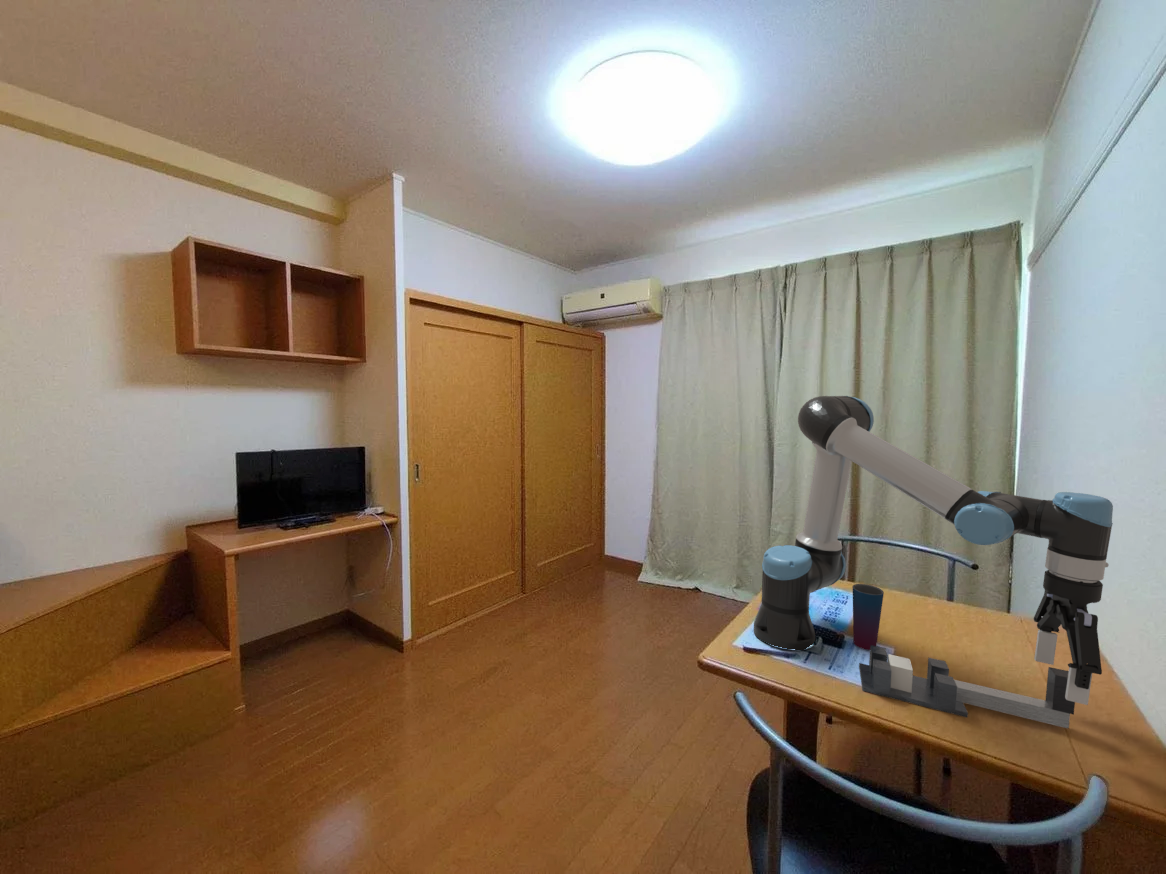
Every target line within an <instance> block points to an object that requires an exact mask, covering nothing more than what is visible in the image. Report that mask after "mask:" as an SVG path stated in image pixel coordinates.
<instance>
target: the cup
mask: <svg viewBox="0 0 1166 874" xmlns="http://www.w3.org/2000/svg"><path fill="white" fill-rule="evenodd" d="M884 594H885V593H884V590H883V589H881V588H879V587H877V586H875V585H871V584H867V583H866V584H865V583H856V584H853V585H852V631H853V632H852V633H853V636H852V637H853V641H852V642H853V644H854V645H855V647H858V648H859V649H861V650H866V651H870V645H873V646H877V645H878V638H879V631H880V630H879V628H880V621H881V615H882V610H883V609H882V607H883V601H884Z"/></svg>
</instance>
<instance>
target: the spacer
mask: <svg viewBox="0 0 1166 874" xmlns="http://www.w3.org/2000/svg"><path fill="white" fill-rule="evenodd" d="M887 655H888V657H887V662H889V663H890V667H891V688H894V689H898V690H902V691H906V692H910V693H911V692H912V677H913V676H914V670H913V666H912V663H911V659H910V658H908V657H904V656H899V655H898V656H897V655H893V654H890V653H887Z"/></svg>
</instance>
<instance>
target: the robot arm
mask: <svg viewBox="0 0 1166 874" xmlns="http://www.w3.org/2000/svg"><path fill="white" fill-rule="evenodd" d="M797 423H798V427H799V430H800V431H801V433H802V435H803V436H804V437H805V438H806V439H808V440H810V441H811V444H812V446H813V447H814V448H815V449H816V453H815V459H814V464H813V471H812V476H811V477H812V478H811V483H810V488H809V495H808V499H807V507H806V513H805V518H804V525H803V530H802V531H801V532H799V533H797V534H796V537H795V541H794V545H789V544H786V545H785V544H784V545H775V546H772V547H769V548H768V549H766V551H765V552H764V554H763V558H762V563H761V564H762V565H761V568H762V576H761V577H762V579H761V582H762V584H761V603H760V606H759V608H758V611H757V614H756V616H755V618H754V620H753V621H754V622H753V633H754V635H755V636H756V637H757V639H759V640H760V639H761V640H763V641H765V642H767V643H769V644H771V645H774V646H778V647H782V648H787V649H795V650H802V651H805V650H804V649H806V648H807V647H809V646H810V645H812V644H813V643H814V641H815V642H816V633H815V632H816V631H815V628H814V625H813V622H812V618H811V615H810V596H811V593H814V592H816V591H819V590H821V589H823V588H827V587H830V586H832V585H834V584H836V583H837V582H838V581H839V580H841V578H842V577H843V576H844V575H845V571H846V567H847V566H846V565H847V564H846V563H847V562H846V558H845V556H844V555H843V552H842V551H843V550H842V549H843V545H842V543H841V542H840V541H839V540H838V537H839V533H840V532H839V531H840V525H841V520H842V515H843V510H844V504H845V500H846V494H847V488H848V483H849V482H848V481H849V477H850V472H851V467H852V462H853V463H854V464H856V465H858V466H859V467H861V468H862V469H864V470H865V471H867V472H868V473H870V474H872V475H874V476H875V477H877V478H879V479H880V480H881V481H883V482H885V483H886V484H888V485H890V486H891V487H893V488H895V489H896V490H897V491H900V492H901V493H902V494H904V495H905V496H908V497H909V498H911V499H912V500H914V501H915V502H917V503H919V504H920V505H923V506H924V507H925V508H927V509H928V510H930V511H932V512H933V513H935V514H937V515H938V516H939V517H941V518H943V519H945V520H946V521H947V522H950V523H951V524H953V525H954V528H955V530H956V531H957V533H958V534H959V536H961V538H963V539H964V540H965V541H967V542H969V543H971V544H974V545H978V546H990V545H995V544H999V543H1002V542H1005V541H1006V540H1008V539H1010V537H1012V536H1015V535H1016V534H1019V535H1024V536H1030V537H1035V538H1039V539H1047V540H1048V545H1047V547H1046V548H1047V549H1046V556H1045V563H1044V567H1045V568H1046V569H1047V570H1045V571H1044V575H1043V583H1042V587H1043V589H1044V594H1043V596H1042V599H1041V600H1040V603H1039V605H1038V607H1037V609H1036V611H1035V614H1034V616H1033V621H1034V623H1036V628H1037V636H1036V642H1035V643H1036V644H1035V650H1034V659H1033V660H1034V661H1035V662H1039V663H1043V664H1047V665H1051V666H1054V664H1055V663H1054V662H1055V656H1056V650H1057V649H1056V648H1057V642H1058V634H1059V633H1061V632H1060V629H1059V628H1060V627H1061V628H1062V629H1063V630H1064V631H1065V632H1066V636H1067V642H1068V645H1069V651H1070V656H1071V661H1072V662H1069V663H1067V666H1068V671H1069V673H1068V680H1067V687H1066V694H1065V698H1066V700H1068V701H1072V702H1075V703H1077V704H1082V705H1086V706H1088V705H1089V699H1090V692H1091V684H1092V678H1093V674H1096V675H1099V676H1100V675H1102V673H1103V670H1102V661H1101V652H1100V644H1099V643H1100V642H1099V635H1098V634H1099V633H1098V622H1099V617H1098V615H1096V614H1092V613H1089V611H1088V605H1089V604H1096V603H1099V602H1100V601H1101V600H1102V594H1103V587H1104V584H1103V583H1102V582H1101V581H1102V580H1104V578H1105V577H1104V576H1105V570H1106V568H1108V567H1109V563H1108V562H1107V557H1108V551H1109V544H1110V540H1111V534H1112V527H1113V525H1114V524H1113V511H1114V509H1113V508H1114V505H1113V502H1112V501H1110V500H1109V499H1108V498H1106V497H1104V496H1100V495H1094V494H1089V493H1082V492H1081V493H1080V492H1071V491H1068V492H1067V491H1061V492H1056V493H1055V495H1054V498H1053V499H1052V500H1051V499H1048V500H1047V499H1040V498H1033V497H1027V496H1021V495H1016V494H1008V493H1003V492H1001V491H988V490H987V491H986V490H979V491H975V490H974V489H973V488H971V487H969V486H968V485H966V484H964V483H963V482H960V481H958V480H956V479H955V478H953V477H951V476H949V475H948V474H946V473H944V472H942V471H941V470H939V469H937V468H935V467H933V466H931V465H930V464H928V463H926V462H924V461H922V460H920V459H919V458H917V457H915V456H913V455H912V454H910V453H908V452H906V451H904V450H903V449H902V448H901V449H900V448H899V447H897V446H896V445H894V444H892V443H890V442H888V441H886V440H884V439H883V438H882V437H879V436H877V435H876V434H874V433H872V432H871V430H872V428H873V427H874V423H875V420H874V413H873V411H872V408H871V407H870V406H869V405H868V403H866V402H865V401H864V400H862V399H860V398H859V397H853V396H850V395H849V396H848V395H831V396H830V395H829V396H828V395H820V396H816V397H813V398H811V399H809V400H807V401H806V402H805V403H804V404H803V405H802V406H801V408H800V410H799V412H798V416H797ZM1057 633H1058V634H1057ZM761 640H760V641H761ZM763 641H762V642H763ZM765 642H764V643H765ZM767 643H766V644H767ZM769 644H768V645H769ZM771 645H770V646H771ZM774 646H773V647H774Z"/></svg>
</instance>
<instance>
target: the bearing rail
mask: <svg viewBox="0 0 1166 874" xmlns="http://www.w3.org/2000/svg"><path fill="white" fill-rule="evenodd" d="M868 663H869V664H865V663H862V662H859V664H858V669H859V675H860V682H861V683H860V684H861V690H862V692H867V693H870V694H873V695H878V696H881V697H886V698H889V699H894V700H897V701H900V702H904V703H908V704H912V705H916V706H921V707H925V708H928V709H932V710H936V711H940V712H944V713H948V714H952V715H955V716H959V717H963V718H968V717H969V712H968V710H967V708H966V706H965V703H962V702H958V701H956V695H957V685H956V683H955V681H954V680H955V679H954V677H953V676H951V675H950V668H949V666H948V664H947V662H946V660H941V659H937V658H932V657H928V658H927V671H926V672H927V674H926V678H925V677H921V676H916V675H913V677H912V692H911V693H910V692H906V691H902V690H898V689H894V688H891V667H890V663H889V662H888V652H887V649H886V648H885V647H882V646H881V647H880V646H873V645H870V650H869V661H868Z"/></svg>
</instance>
